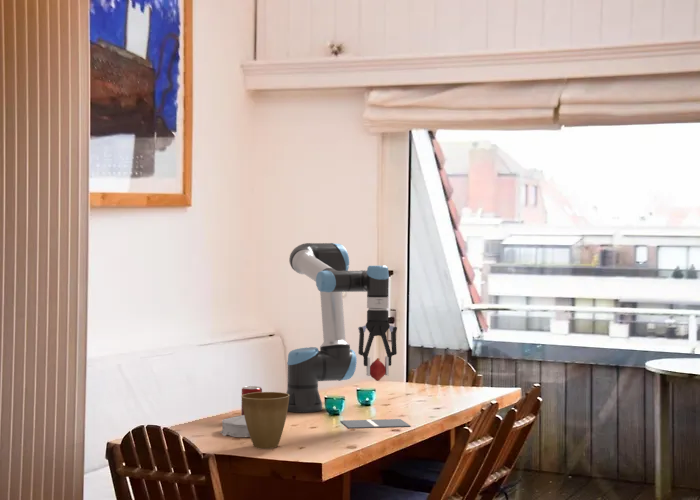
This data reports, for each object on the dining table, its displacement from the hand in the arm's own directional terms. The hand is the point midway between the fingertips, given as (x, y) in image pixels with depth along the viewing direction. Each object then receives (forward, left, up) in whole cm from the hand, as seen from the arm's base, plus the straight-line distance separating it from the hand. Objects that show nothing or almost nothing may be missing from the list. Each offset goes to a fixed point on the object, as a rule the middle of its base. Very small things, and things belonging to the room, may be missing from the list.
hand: (377, 375), depth 351 cm
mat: (-1, 0, -17) cm, 17 cm away
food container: (-46, -9, -18) cm, 50 cm away
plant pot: (-44, -34, -17) cm, 58 cm away
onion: (0, 0, -2) cm, 2 cm away
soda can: (-43, +13, -17) cm, 48 cm away
